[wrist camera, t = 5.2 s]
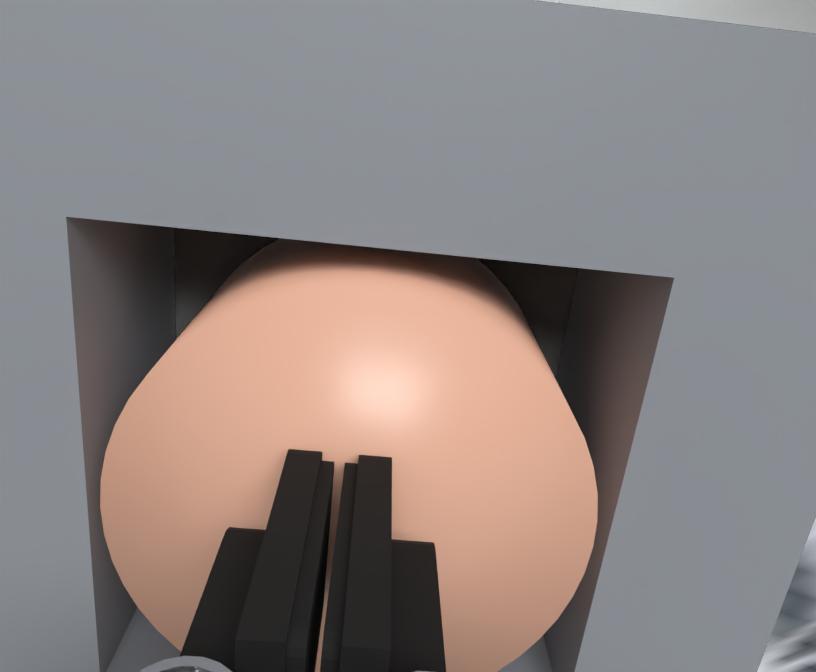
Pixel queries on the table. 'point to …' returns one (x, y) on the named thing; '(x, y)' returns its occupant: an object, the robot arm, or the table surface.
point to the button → (360, 437)
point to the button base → (439, 234)
